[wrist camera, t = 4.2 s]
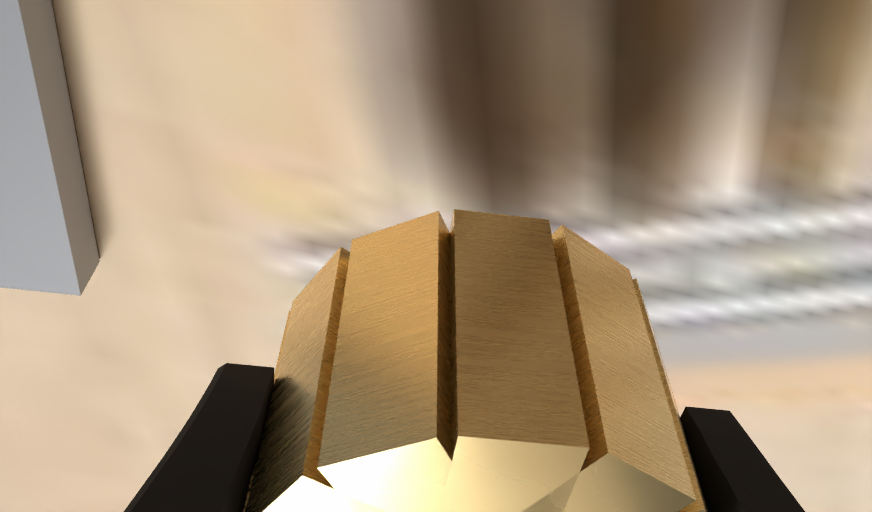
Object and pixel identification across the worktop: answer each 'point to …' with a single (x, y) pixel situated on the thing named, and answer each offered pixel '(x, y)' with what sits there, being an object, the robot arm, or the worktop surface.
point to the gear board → (40, 160)
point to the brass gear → (472, 380)
